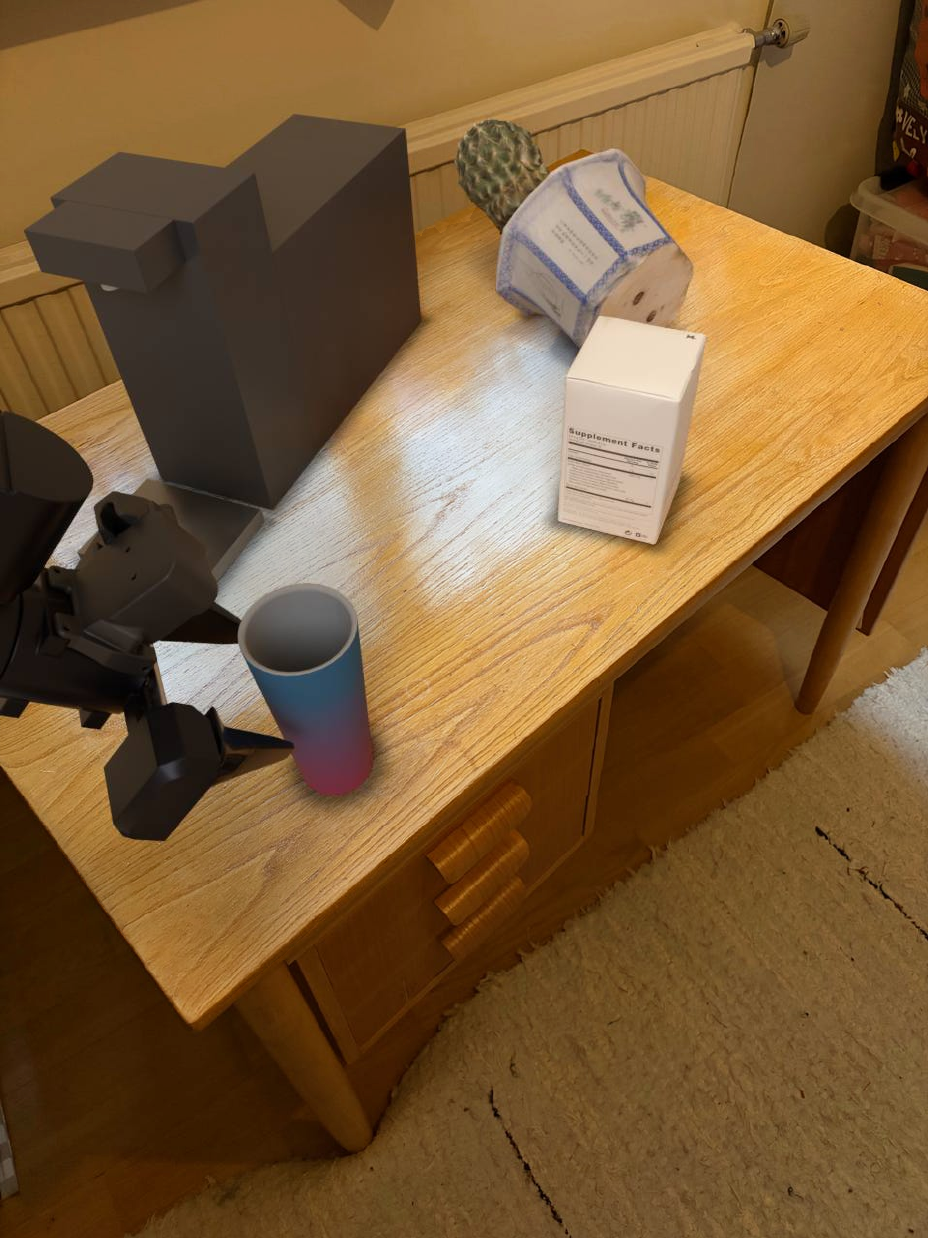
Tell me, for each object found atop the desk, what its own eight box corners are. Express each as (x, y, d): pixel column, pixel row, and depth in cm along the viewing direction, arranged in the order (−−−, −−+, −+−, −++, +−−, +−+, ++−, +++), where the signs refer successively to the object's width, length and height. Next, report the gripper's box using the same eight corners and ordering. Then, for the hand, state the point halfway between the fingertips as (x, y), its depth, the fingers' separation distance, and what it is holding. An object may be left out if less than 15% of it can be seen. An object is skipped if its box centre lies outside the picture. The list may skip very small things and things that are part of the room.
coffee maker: (246, 544, 75) (153, 254, 56) (132, 511, 79) (5, 226, 59) (421, 321, 97) (399, 54, 77) (326, 302, 100) (281, 42, 80)
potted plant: (743, 207, 81) (553, 35, 91) (589, 276, 76) (406, 86, 86) (689, 345, 97) (532, 185, 107) (558, 410, 91) (406, 235, 102)
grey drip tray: (202, 601, 71) (196, 589, 70) (83, 564, 75) (76, 552, 73) (264, 521, 77) (261, 509, 76) (152, 490, 80) (147, 477, 79)
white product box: (585, 458, 81) (598, 310, 70) (681, 480, 79) (710, 331, 67) (553, 522, 76) (561, 374, 64) (655, 548, 73) (682, 398, 62)
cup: (340, 826, 58) (299, 696, 47) (268, 773, 61) (212, 638, 49) (405, 754, 61) (382, 616, 50) (334, 707, 64) (296, 566, 53)
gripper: (101, 667, 33) (403, 725, 44) (51, 397, 44) (301, 497, 55) (-20, 839, 37) (283, 853, 48) (-37, 553, 49) (211, 617, 59)
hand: (270, 690), depth 53 cm, fingers open, 9 cm apart
